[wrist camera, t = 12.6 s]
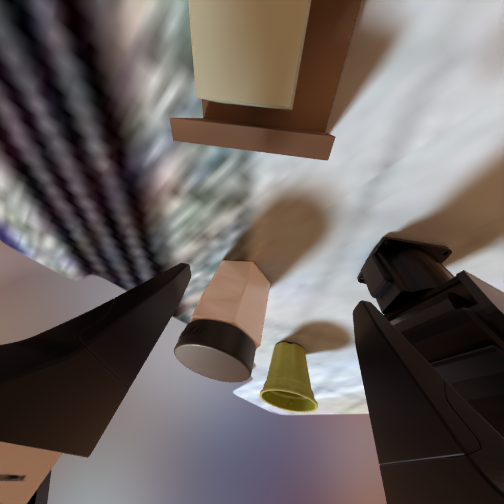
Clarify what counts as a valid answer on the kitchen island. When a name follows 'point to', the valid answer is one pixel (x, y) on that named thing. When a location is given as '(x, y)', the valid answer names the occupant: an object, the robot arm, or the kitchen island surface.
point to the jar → (226, 324)
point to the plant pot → (289, 380)
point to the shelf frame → (305, 101)
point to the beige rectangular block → (248, 50)
